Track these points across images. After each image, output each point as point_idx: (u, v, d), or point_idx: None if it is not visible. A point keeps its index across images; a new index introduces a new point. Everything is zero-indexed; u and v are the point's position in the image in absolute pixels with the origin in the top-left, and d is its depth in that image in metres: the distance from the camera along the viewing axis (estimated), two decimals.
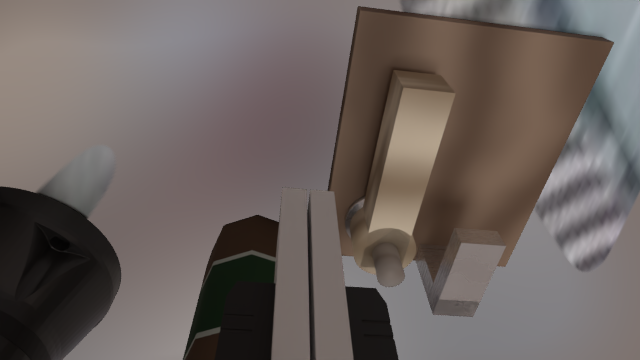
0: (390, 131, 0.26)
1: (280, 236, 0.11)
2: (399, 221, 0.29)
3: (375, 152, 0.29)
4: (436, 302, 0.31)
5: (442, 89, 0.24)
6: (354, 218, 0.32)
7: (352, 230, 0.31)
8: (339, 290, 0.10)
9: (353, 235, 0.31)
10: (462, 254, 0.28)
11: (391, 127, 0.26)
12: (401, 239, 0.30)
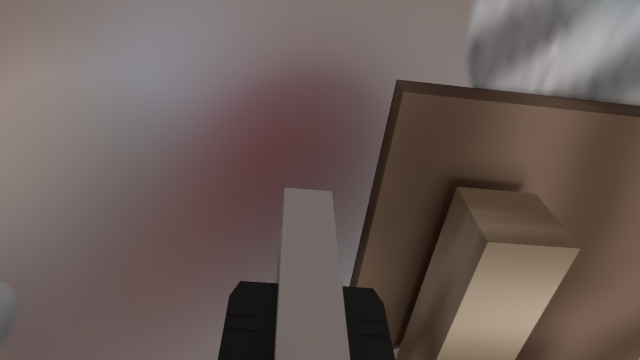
0: (454, 297, 0.15)
1: (282, 236, 0.11)
2: None
3: (418, 299, 0.18)
4: None
5: (554, 240, 0.13)
6: None
7: None
8: (336, 290, 0.10)
9: None
10: None
11: (456, 291, 0.15)
12: None
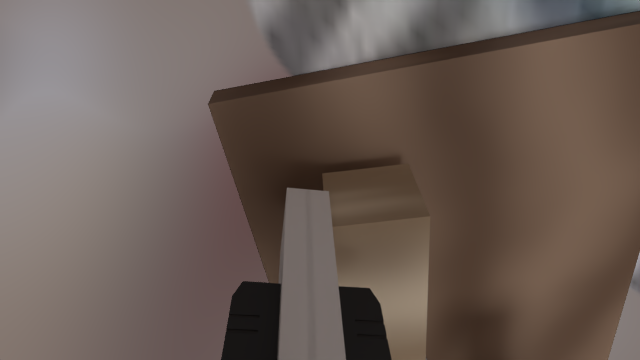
0: None
1: (285, 236, 0.11)
2: None
3: None
4: None
5: (404, 212, 0.13)
6: None
7: None
8: (332, 290, 0.10)
9: None
10: None
11: None
12: None
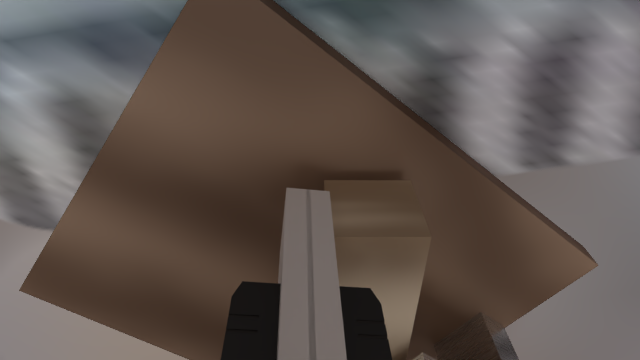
0: None
1: (285, 236, 0.11)
2: None
3: None
4: None
5: (405, 229, 0.13)
6: None
7: None
8: (333, 290, 0.10)
9: None
10: None
11: None
12: None
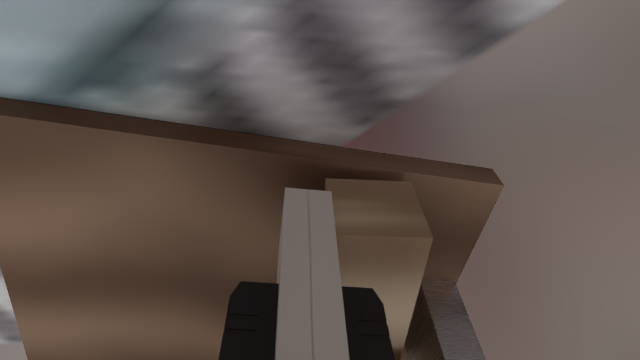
0: None
1: (283, 236, 0.11)
2: None
3: None
4: None
5: (408, 230, 0.13)
6: None
7: None
8: (335, 290, 0.10)
9: None
10: None
11: None
12: None
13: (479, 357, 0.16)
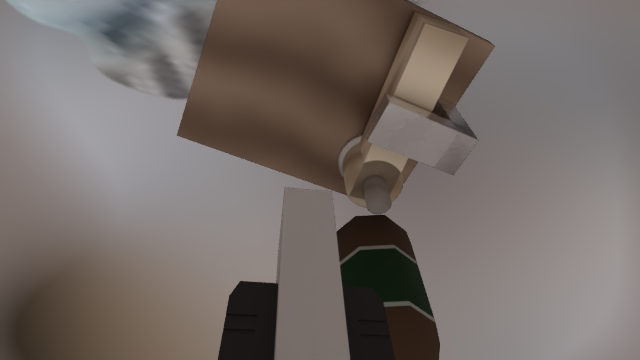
0: (404, 65, 0.28)
1: (283, 236, 0.11)
2: (393, 156, 0.31)
3: (382, 90, 0.32)
4: (440, 168, 0.30)
5: (457, 33, 0.27)
6: (350, 152, 0.34)
7: (346, 162, 0.34)
8: (336, 290, 0.10)
9: (347, 166, 0.33)
10: (382, 141, 0.28)
11: (405, 61, 0.28)
12: (391, 174, 0.32)
13: (467, 126, 0.30)
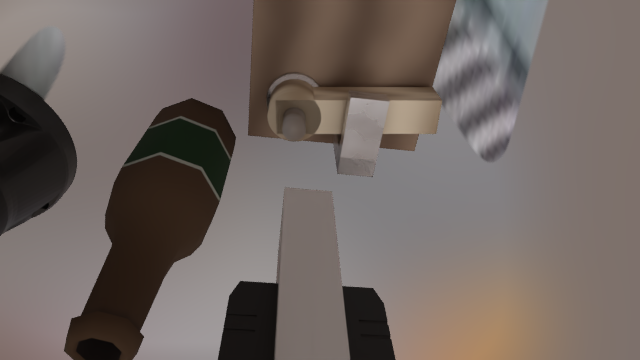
0: (405, 98, 0.35)
1: (283, 236, 0.11)
2: (328, 121, 0.36)
3: (367, 87, 0.37)
4: (339, 161, 0.36)
5: (436, 124, 0.37)
6: (304, 82, 0.36)
7: (297, 84, 0.36)
8: (336, 290, 0.10)
9: (297, 86, 0.35)
10: (353, 109, 0.33)
11: (408, 98, 0.35)
12: (309, 127, 0.36)
13: None
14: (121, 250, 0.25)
